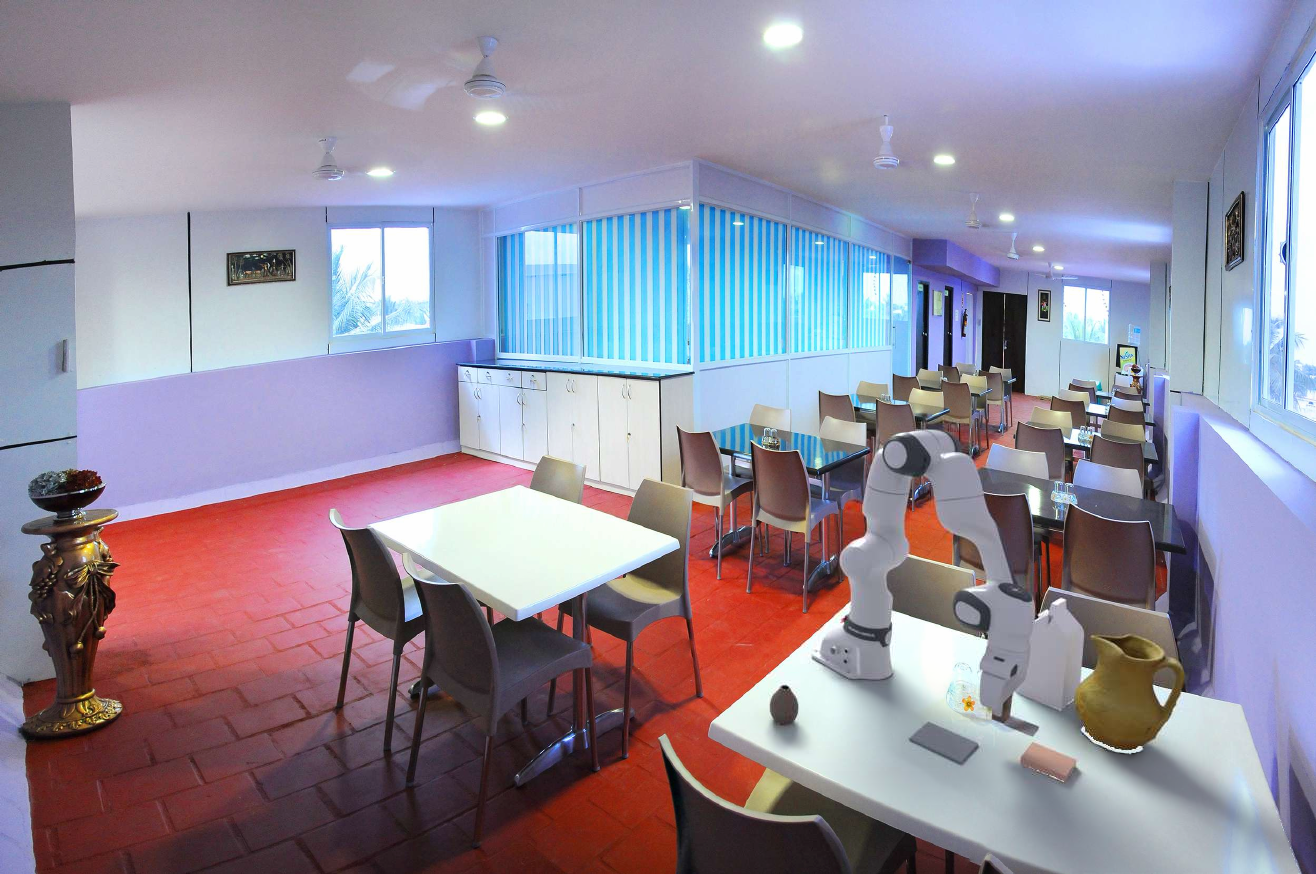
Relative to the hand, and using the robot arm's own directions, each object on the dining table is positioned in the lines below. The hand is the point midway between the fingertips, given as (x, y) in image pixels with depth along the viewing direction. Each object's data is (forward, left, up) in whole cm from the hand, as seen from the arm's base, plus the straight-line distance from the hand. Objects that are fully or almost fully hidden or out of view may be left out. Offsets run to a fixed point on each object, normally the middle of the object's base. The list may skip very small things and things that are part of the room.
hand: (1001, 710), depth 159 cm
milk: (+1, +33, -9) cm, 34 cm away
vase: (-40, -29, -9) cm, 50 cm away
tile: (+6, 0, -8) cm, 10 cm away
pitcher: (+19, +22, -9) cm, 30 cm away
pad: (-9, -9, -8) cm, 15 cm away
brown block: (+3, 0, -2) cm, 4 cm away
